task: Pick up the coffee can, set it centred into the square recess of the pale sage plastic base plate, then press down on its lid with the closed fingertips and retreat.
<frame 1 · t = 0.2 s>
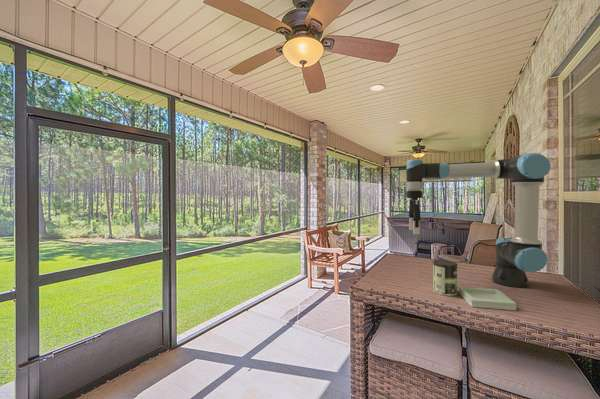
hand: (414, 232, 139), 27 cm above the table, fingers open, 13 cm apart
coffee can: (444, 292, 130), on the table
base plate: (485, 300, 119), on the table
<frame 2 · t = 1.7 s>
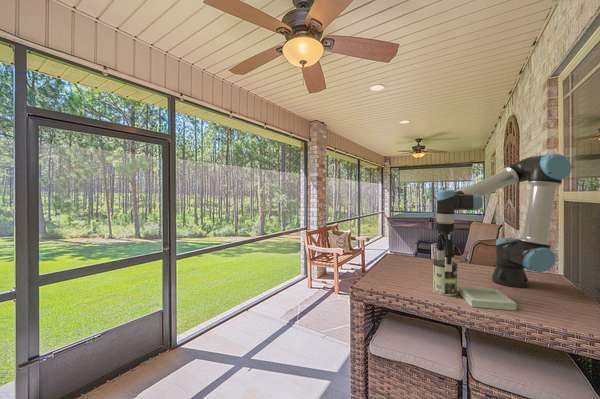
hand: (444, 267, 130), 12 cm above the table, fingers open, 13 cm apart
nothing on the table moved.
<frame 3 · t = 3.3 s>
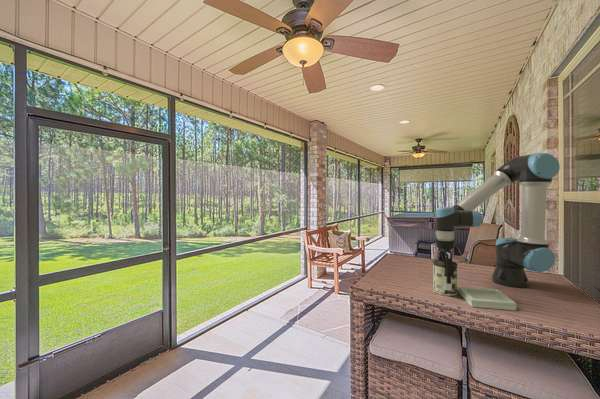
hand: (444, 286, 130), 3 cm above the table, fingers closed on coffee can, 10 cm apart
coffee can: (444, 292, 130), on the table, touching gripper
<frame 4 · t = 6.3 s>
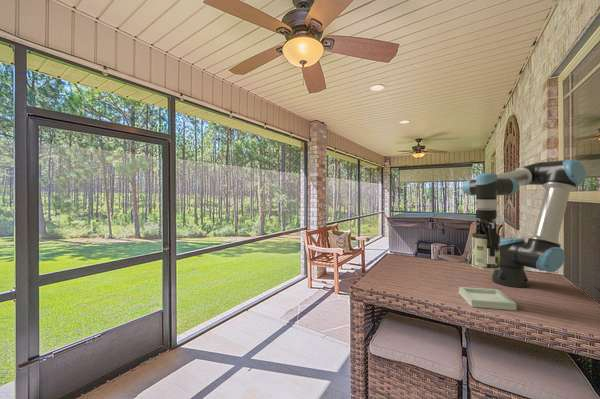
hand: (485, 260, 119), 18 cm above the table, fingers closed on coffee can, 10 cm apart
coffee can: (485, 267, 119), point 15 cm above the table, touching gripper
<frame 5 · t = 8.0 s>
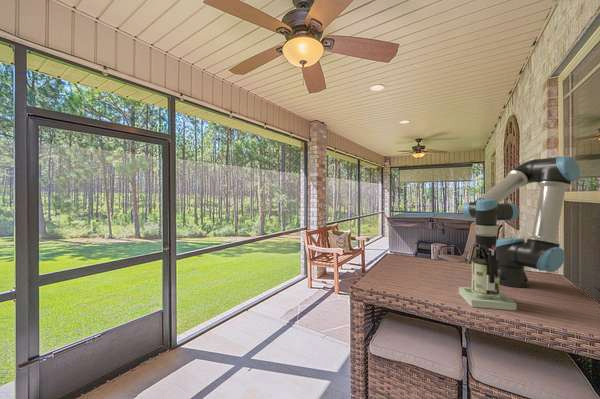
hand: (485, 285, 119), 7 cm above the table, fingers closed on coffee can, 10 cm apart
coffee can: (484, 292, 119), point 4 cm above the table, touching gripper
when the fingers open (4 cm above the table, at t = 9.5 s): coffee can stays where it is, resting on base plate.
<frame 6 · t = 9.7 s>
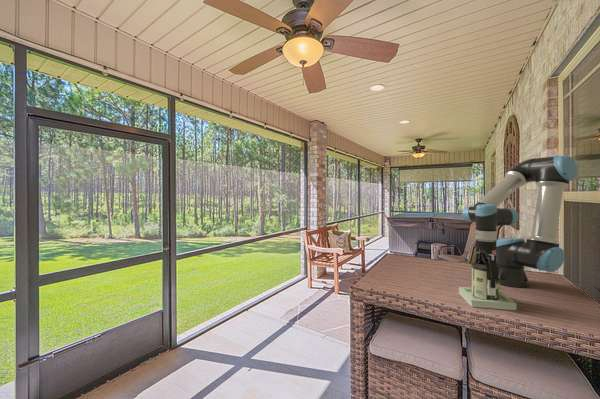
hand: (485, 289, 119), 5 cm above the table, fingers open, 12 cm apart
coffee can: (485, 298, 119), point 1 cm above the table, touching base plate
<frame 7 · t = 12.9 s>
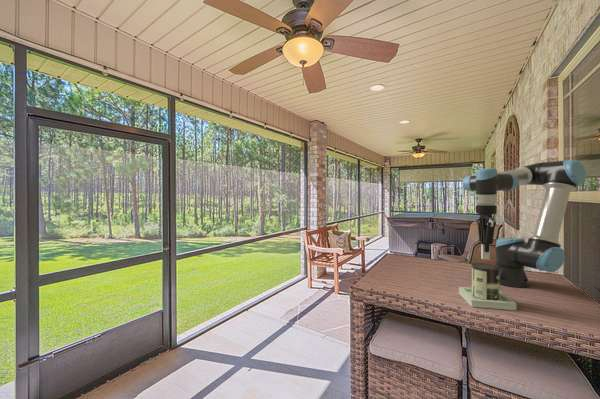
hand: (485, 259, 119), 18 cm above the table, fingers closed
nothing on the table moved.
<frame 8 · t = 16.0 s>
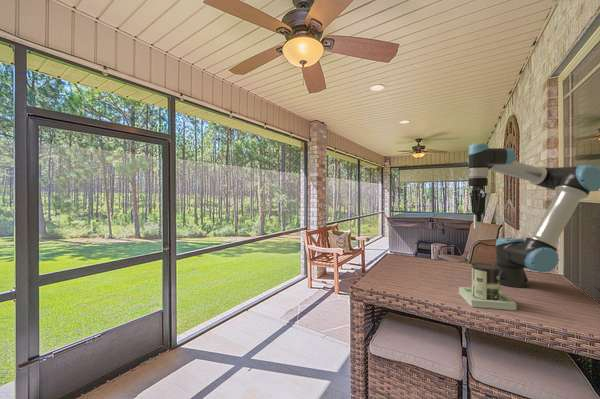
hand: (477, 228, 127), 30 cm above the table, fingers closed
nothing on the table moved.
at the end: coffee can 0.2 cm off-centre on the base plate, point 1.0 cm above the base plate's base; coffee can tilted 0°; the gripper is holding nothing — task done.
